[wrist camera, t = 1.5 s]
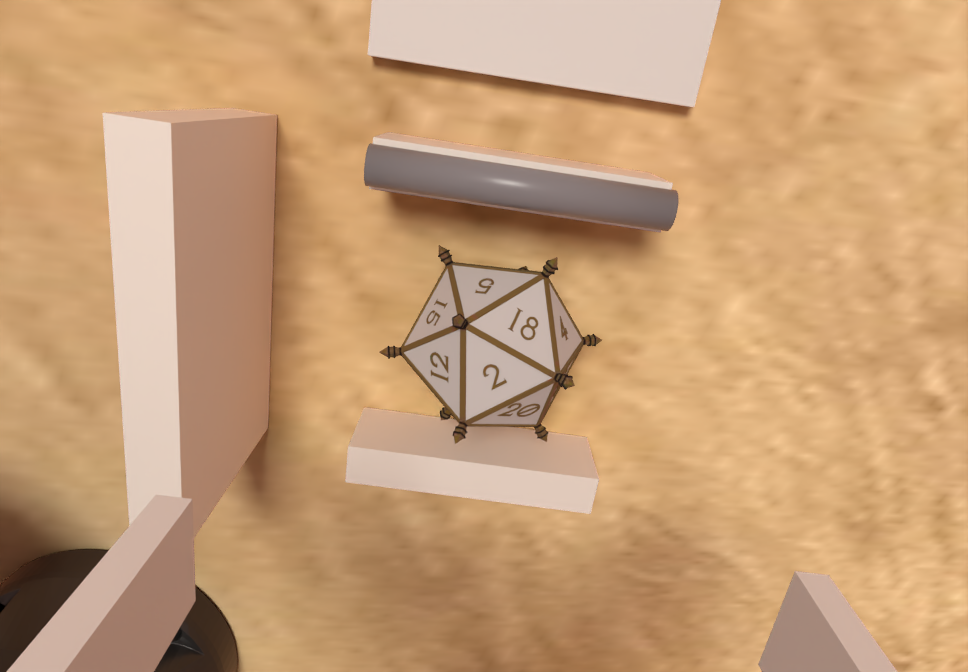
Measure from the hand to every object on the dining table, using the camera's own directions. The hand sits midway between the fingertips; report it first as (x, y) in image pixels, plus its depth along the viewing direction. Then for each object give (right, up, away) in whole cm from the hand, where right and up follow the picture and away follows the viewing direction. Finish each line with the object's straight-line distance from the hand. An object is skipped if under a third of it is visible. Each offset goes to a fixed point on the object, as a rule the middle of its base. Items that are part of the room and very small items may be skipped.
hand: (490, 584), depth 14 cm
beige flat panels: (-3, +7, +17) cm, 19 cm away
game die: (0, +7, +18) cm, 19 cm away
